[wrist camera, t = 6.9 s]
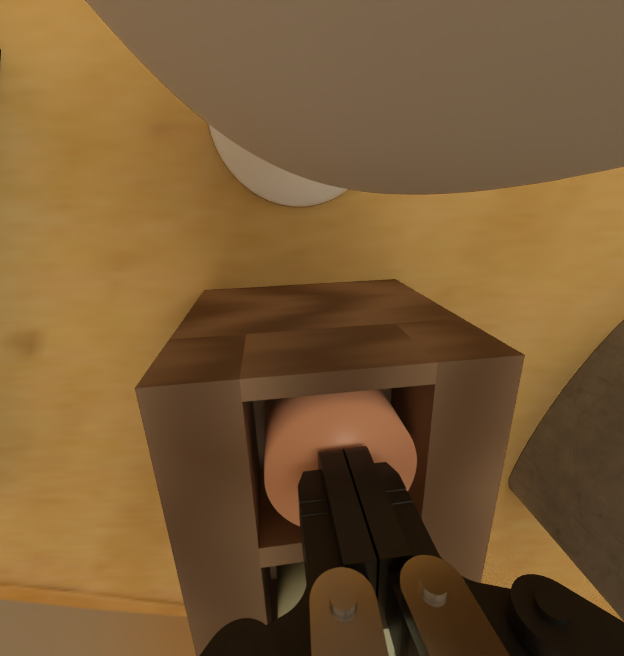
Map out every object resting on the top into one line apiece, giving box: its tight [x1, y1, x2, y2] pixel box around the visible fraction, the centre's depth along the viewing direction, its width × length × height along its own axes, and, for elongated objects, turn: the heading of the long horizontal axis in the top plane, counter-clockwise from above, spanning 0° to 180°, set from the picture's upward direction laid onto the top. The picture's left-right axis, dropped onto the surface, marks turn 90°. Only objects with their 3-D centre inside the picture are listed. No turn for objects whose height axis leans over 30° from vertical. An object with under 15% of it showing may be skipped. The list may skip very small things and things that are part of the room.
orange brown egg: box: [264, 389, 417, 526], centre depth 12 cm, size 5×5×4 cm
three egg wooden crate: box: [135, 279, 525, 656], centre depth 18 cm, size 11×20×11 cm, turn 2°
